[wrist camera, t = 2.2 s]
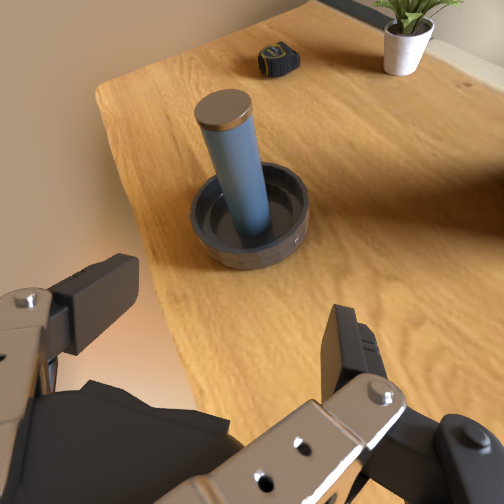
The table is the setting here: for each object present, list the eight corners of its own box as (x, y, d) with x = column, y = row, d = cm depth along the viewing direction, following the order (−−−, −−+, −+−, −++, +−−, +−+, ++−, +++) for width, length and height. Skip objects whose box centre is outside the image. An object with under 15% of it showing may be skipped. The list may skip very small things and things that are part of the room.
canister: (248, 201, 42) (218, 84, 28) (279, 214, 39) (262, 95, 26) (226, 227, 40) (182, 115, 26) (257, 243, 38) (227, 130, 24)
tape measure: (302, 72, 57) (301, 50, 54) (269, 85, 57) (266, 64, 54) (285, 58, 61) (284, 37, 58) (254, 70, 60) (251, 50, 57)
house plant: (453, 94, 47) (510, -49, 33) (358, 96, 51) (374, -33, 37) (445, 47, 54) (490, -88, 40) (362, 51, 58) (378, -71, 44)
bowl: (242, 171, 46) (236, 149, 42) (329, 205, 39) (330, 183, 36) (178, 241, 40) (166, 222, 37) (268, 292, 34) (263, 275, 31)
